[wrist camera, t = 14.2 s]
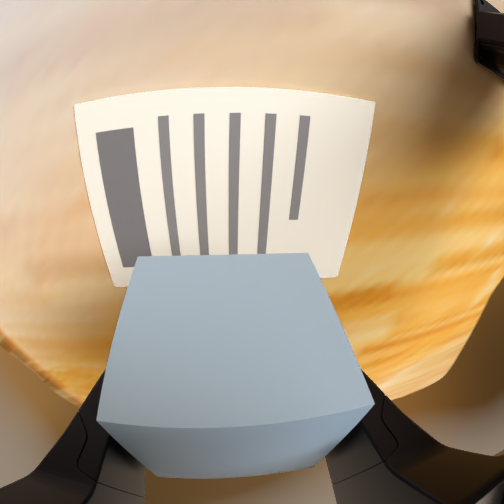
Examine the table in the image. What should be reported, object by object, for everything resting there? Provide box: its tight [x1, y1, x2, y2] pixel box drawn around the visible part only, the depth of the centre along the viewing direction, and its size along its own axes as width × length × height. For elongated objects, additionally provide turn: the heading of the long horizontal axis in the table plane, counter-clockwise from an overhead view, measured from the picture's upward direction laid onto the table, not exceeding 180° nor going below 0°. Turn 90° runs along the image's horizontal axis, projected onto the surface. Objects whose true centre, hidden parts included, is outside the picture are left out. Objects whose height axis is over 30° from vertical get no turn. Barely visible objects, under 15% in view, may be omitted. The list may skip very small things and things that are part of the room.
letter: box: [74, 87, 375, 287], centre depth 18 cm, size 18×14×1 cm
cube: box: [96, 253, 375, 478], centre depth 8 cm, size 5×5×5 cm
